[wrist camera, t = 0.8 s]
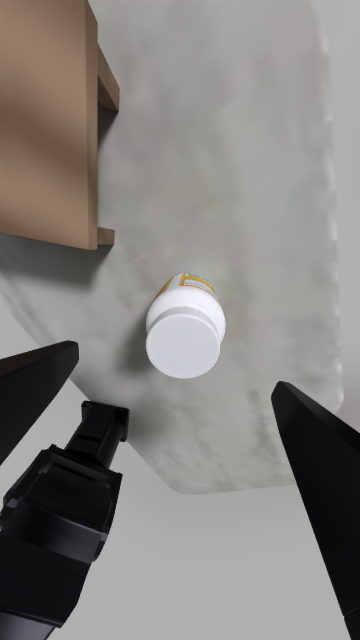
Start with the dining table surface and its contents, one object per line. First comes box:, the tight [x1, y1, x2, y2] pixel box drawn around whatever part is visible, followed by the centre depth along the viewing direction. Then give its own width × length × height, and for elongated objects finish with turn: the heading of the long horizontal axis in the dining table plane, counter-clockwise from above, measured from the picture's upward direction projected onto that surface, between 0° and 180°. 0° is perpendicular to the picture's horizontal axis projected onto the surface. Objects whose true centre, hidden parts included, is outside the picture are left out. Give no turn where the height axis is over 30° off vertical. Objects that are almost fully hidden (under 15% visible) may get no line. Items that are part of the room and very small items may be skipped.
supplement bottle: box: [146, 273, 225, 379], centre depth 14 cm, size 5×5×10 cm
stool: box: [0, 0, 120, 250], centre depth 13 cm, size 11×11×5 cm
